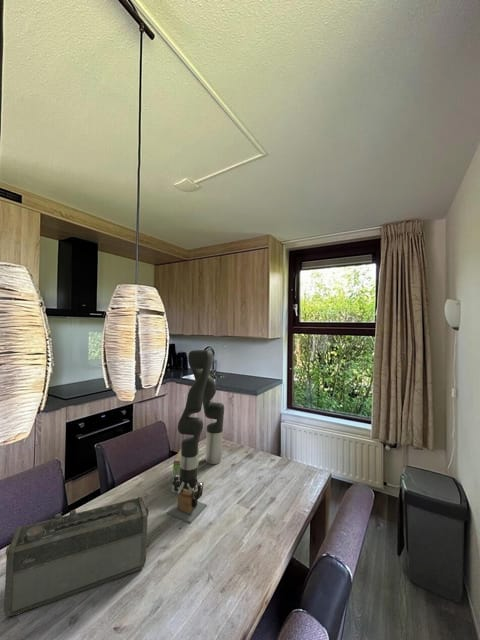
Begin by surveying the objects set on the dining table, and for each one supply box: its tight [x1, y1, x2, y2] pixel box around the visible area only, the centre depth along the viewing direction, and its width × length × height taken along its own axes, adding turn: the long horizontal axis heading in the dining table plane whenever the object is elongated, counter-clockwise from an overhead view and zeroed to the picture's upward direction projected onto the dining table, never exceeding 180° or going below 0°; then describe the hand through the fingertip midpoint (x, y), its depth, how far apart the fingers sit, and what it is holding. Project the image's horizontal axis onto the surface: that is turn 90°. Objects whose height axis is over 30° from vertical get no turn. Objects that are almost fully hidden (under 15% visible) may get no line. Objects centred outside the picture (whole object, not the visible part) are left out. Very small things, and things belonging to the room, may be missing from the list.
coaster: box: [166, 501, 208, 524], centre depth 119 cm, size 12×12×1 cm
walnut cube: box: [177, 489, 197, 514], centre depth 119 cm, size 6×6×6 cm
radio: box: [3, 496, 149, 618], centre depth 87 cm, size 38×14×20 cm, turn 118°
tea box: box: [171, 447, 200, 494], centre depth 137 cm, size 15×10×15 cm, turn 179°
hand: (187, 504), depth 119 cm, fingers open, 6 cm apart
